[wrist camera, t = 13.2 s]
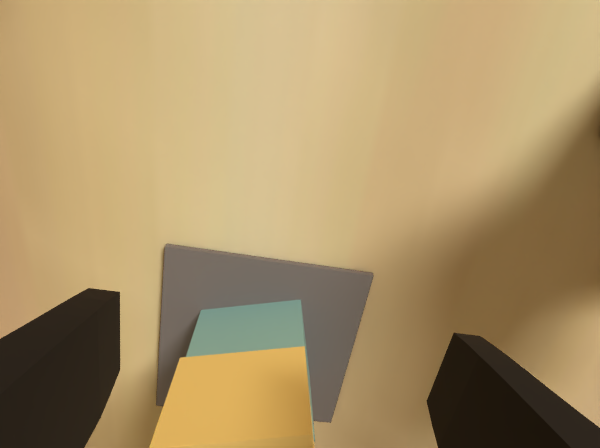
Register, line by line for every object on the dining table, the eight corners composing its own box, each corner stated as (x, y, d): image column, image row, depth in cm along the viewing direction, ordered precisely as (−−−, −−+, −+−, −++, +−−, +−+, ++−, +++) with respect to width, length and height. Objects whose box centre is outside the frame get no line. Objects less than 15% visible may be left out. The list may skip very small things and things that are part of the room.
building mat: (372, 272, 20) (373, 275, 19) (330, 418, 23) (330, 422, 23) (166, 243, 18) (164, 246, 18) (157, 400, 22) (156, 405, 22)
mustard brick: (313, 434, 18) (321, 533, 14) (202, 444, 18) (181, 546, 14) (304, 346, 16) (311, 434, 12) (180, 357, 16) (148, 449, 12)
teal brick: (309, 375, 22) (314, 441, 18) (218, 385, 22) (205, 453, 18) (300, 299, 20) (304, 355, 16) (201, 310, 20) (182, 368, 16)
